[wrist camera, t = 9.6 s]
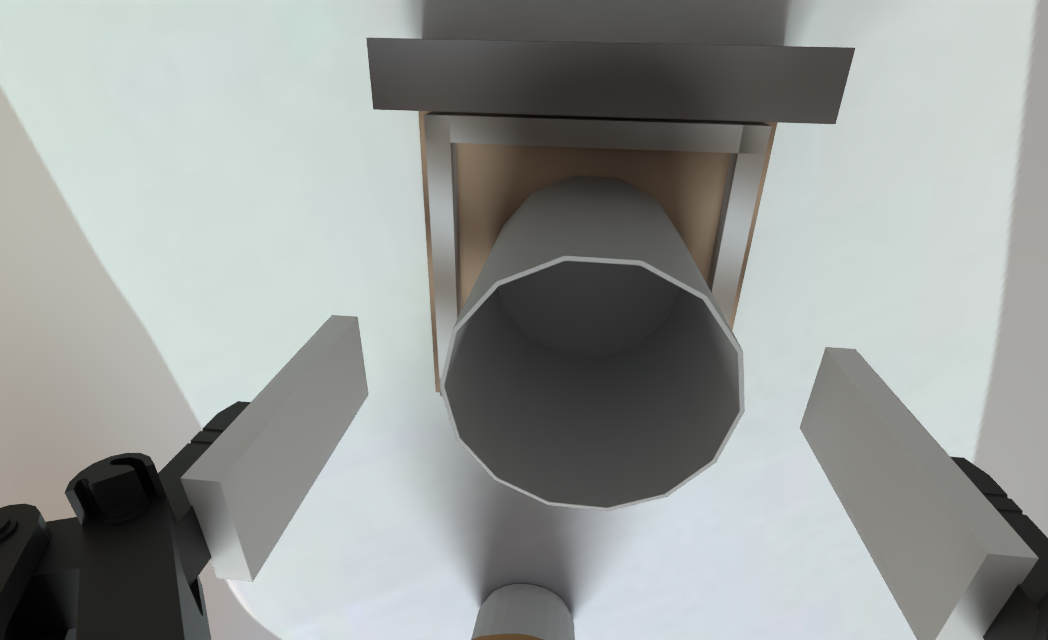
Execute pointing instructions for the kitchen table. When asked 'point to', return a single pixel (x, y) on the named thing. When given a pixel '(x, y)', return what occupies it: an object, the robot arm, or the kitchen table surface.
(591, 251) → the cup
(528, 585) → the coffee cup
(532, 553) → the kitchen table surface
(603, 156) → the brown flat tray-like piece
